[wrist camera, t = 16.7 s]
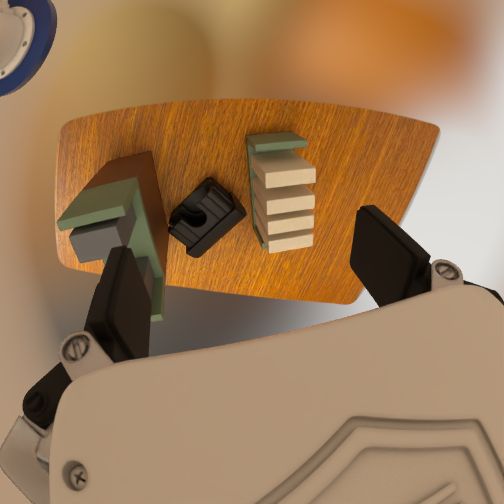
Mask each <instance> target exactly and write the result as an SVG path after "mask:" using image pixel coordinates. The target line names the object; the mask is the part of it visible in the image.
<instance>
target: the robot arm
mask: <svg viewBox="0 0 504 504" xmlns="http://www.w3.org/2000/svg"><path fill="white" fill-rule="evenodd" d="M9 6H10V5H9V4H8V0H0V79H3V78H5V77H7V76H8V75H9V74H11V73H12V72H13V71H14V70H15V69H16V68H17V67H18V66H19V65H20V63H21V62H22V61H23V59H24V57H25V56H26V54H27V52H28V50H29V48H30V46H31V43H32V40H33V37H34V32H35V20H34V17H33V14H32V13H31V11H30V10H28V9H27V8H24V7H12V8H9ZM430 257H431V256H430V255H429V254H428V253H427V252H426V251H425V250H424V249H423V248H422V247H421V246H420V245H419V244H418V243H417V242H416V241H415V240H413V239H412V238H411V237H410V236H409V235H408V234H407V233H406V232H405V231H404V230H403V229H401V228H400V227H399V226H398V225H397V224H396V223H395V222H394V221H392V220H391V219H390V218H389V217H388V216H387V215H385V214H384V213H383V212H382V211H381V210H380V209H378V208H377V207H376V206H375V205H367V206H361V207H360V209H359V210H358V211H357V214H356V221H355V229H354V236H353V243H352V250H351V256H350V266H351V268H352V270H353V271H354V273H355V274H356V275H357V277H358V278H359V279H360V281H361V282H362V283H363V285H364V286H365V288H366V289H367V290H368V292H369V293H370V295H371V296H372V297H373V299H374V300H375V302H376V303H377V305H378V306H379V308H376V309H373V310H370V311H366V312H362V313H359V314H355V315H352V316H348V317H345V318H341V319H337V320H334V321H330V322H326V323H322V324H318V325H314V326H311V327H306V328H302V329H299V330H294V331H290V332H285V333H281V334H277V335H272V336H267V337H263V338H258V339H253V340H248V341H244V342H238V343H233V344H228V345H222V346H217V347H211V348H205V349H199V350H193V351H186V352H180V353H174V354H167V355H160V356H153V357H148V356H149V336H150V321H151V308H152V304H151V299H150V296H149V294H148V291H147V289H146V286H145V284H144V281H143V278H142V276H141V273H140V270H139V268H138V265H137V262H136V260H135V257H134V254H133V251H132V249H131V248H127V247H126V245H122V246H117V247H113V248H111V250H110V253H109V256H108V259H107V261H106V264H105V267H104V270H103V273H102V276H101V279H100V282H99V283H98V284H97V287H96V289H95V292H94V295H93V299H92V302H91V305H90V309H89V313H88V316H87V319H86V324H85V327H84V331H76V332H73V333H71V334H70V335H68V336H67V337H66V338H65V339H64V340H63V341H62V343H61V344H60V347H59V354H58V355H59V358H60V360H61V362H60V363H59V364H57V365H56V366H55V367H54V368H53V369H52V370H51V371H50V372H49V373H47V374H46V375H45V376H44V377H43V378H42V379H41V380H40V381H38V382H37V383H36V384H35V385H34V386H33V387H32V388H31V389H30V390H29V391H28V392H27V393H26V395H25V397H24V400H23V411H24V415H23V417H21V416H18V418H17V420H16V421H15V423H14V425H13V426H12V428H11V430H10V431H9V433H8V435H7V437H6V439H5V441H4V442H3V444H2V446H1V448H0V467H1V469H2V471H3V472H4V473H5V474H6V475H7V477H8V478H9V479H10V480H11V481H12V482H13V483H14V485H15V486H16V487H17V488H18V489H19V490H20V491H21V492H22V493H23V494H24V495H25V496H26V497H27V498H28V499H29V500H30V501H31V502H32V503H33V504H504V301H503V300H502V298H501V296H500V295H499V294H498V293H497V292H496V291H494V290H491V289H488V288H485V287H482V286H479V285H476V284H473V283H471V282H468V281H465V280H463V275H462V272H461V270H460V269H459V267H457V266H456V265H455V264H454V263H452V262H450V261H447V260H442V259H440V260H436V261H434V262H433V263H432V265H431V264H430V263H429V260H430Z"/></svg>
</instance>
